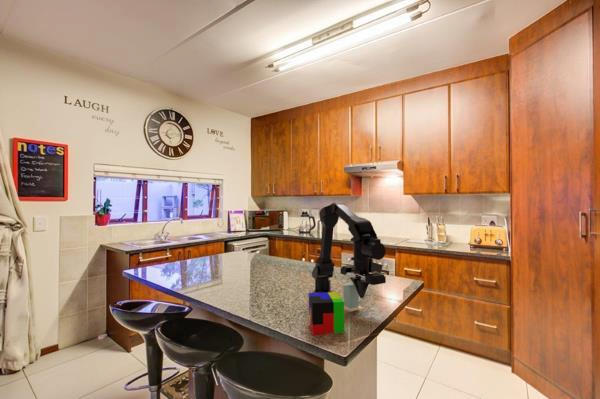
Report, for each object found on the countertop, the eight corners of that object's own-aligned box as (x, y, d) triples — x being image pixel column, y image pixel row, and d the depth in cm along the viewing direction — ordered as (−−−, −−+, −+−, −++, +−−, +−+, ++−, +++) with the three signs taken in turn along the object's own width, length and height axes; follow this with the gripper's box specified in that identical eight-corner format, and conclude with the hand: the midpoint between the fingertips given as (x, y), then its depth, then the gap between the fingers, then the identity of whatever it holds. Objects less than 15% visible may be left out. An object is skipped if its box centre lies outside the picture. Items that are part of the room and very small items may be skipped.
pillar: (350, 311, 107) (349, 287, 107) (343, 308, 110) (343, 284, 110) (358, 309, 108) (358, 285, 109) (352, 306, 112) (351, 283, 112)
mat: (365, 309, 109) (365, 308, 109) (344, 314, 105) (344, 313, 105) (343, 299, 122) (343, 298, 122) (323, 303, 117) (323, 302, 117)
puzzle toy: (309, 322, 98) (308, 293, 99) (337, 321, 99) (337, 292, 99) (312, 335, 88) (312, 303, 89) (344, 334, 89) (344, 301, 89)
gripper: (397, 256, 99) (397, 301, 99) (361, 249, 116) (362, 288, 116) (372, 260, 94) (373, 307, 94) (339, 251, 111) (339, 292, 111)
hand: (361, 297), depth 104 cm, fingers closed
